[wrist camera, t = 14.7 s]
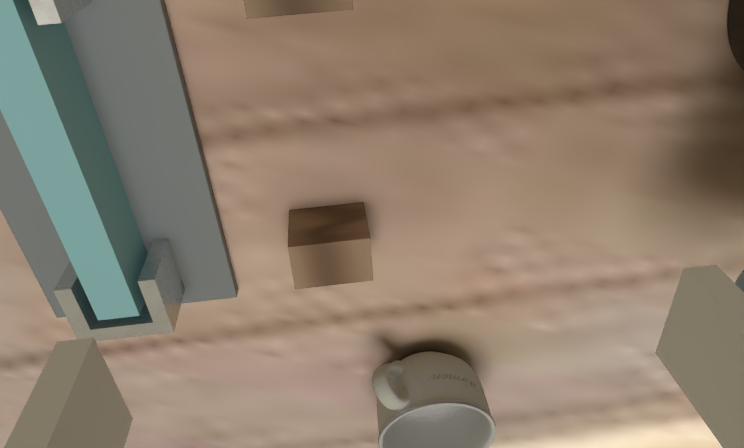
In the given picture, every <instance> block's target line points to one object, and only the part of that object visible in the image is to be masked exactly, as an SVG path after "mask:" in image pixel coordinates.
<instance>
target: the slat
mask: <svg viewBox="0 0 744 448" xmlns="http://www.w3.org/2000/svg"><path fill="white" fill-rule="evenodd" d="M0 110H1V112H2V114H3V116H4V119H5V121H6V123H7V125H8V127H9V129H10V132H11V134H12V136H13V138H14V140H15V142H16V145H17V147H18V149H19V151H20V153H21V155H22V157H23V160H24V162H25V164H26V166H27V168H28V170H29V173H30V175H31V177H32V179H33V181H34V183H35V185H36V188H37V190H38V192H39V194H40V196H41V198H42V201H43V203H44V205H45V207H46V209H47V211H48V214H49V216H50V218H51V220H52V222H53V224H54V226H55V229H56V231H57V233H58V235H59V237H60V239H61V242H62V244H63V246H64V248H65V250H66V252H67V255H68V257H69V259H70V261H71V263H72V265H73V267H74V270H75V272H76V274H77V276H78V278H79V280H80V283H81V285H82V287H83V289H84V291H85V293H86V295H87V298H88V300H89V302H90V304H91V306H92V308H93V311H94V313H95V315H96V317H97V319H98V320H107V319H116V318H124V317H133V316H140V313H141V310H142V307H143V305H144V302H145V300H144V297H143V294H142V292H141V289H140V287H139V284H138V282H137V281H138V279H139V276H140V273H141V271H142V268H143V266H144V263H145V260H146V258H147V255H148V254H147V251H146V248H145V246H144V243H143V240H142V237H141V234H140V232H139V229H138V226H137V223H136V221H135V218H134V215H133V212H132V209H131V207H130V204H129V201H128V198H127V196H126V193H125V190H124V187H123V184H122V182H121V179H120V176H119V173H118V171H117V168H116V165H115V162H114V159H113V157H112V154H111V151H110V148H109V146H108V143H107V140H106V137H105V134H104V132H103V129H102V126H101V123H100V121H99V118H98V115H97V112H96V109H95V107H94V104H93V101H92V98H91V96H90V93H89V90H88V87H87V84H86V82H85V79H84V76H83V73H82V71H81V68H80V65H79V62H78V60H77V57H76V54H75V51H74V48H73V46H72V43H71V40H70V37H69V35H68V32H67V29H66V26H65V23H64V22H62V23H57V24H45V25H38V24H37V21H36V18H35V16H34V13H33V11H32V8H31V6H30V3H29V0H0Z"/></svg>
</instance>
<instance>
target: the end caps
mask: <svg viewBox="0 0 744 448" xmlns="http://www.w3.org/2000/svg"><path fill="white" fill-rule="evenodd" d="M29 3H30V6H31V8H32V11H33V13H34V16H35V18H36V21H37V24H38V25H45V24H57V23H62V22H64V21H65V20H67V19H68V18H69V17H71V16H72V15H74V14H75V13H76V12H78V11H79V10H81V9H82V8H83V7H85V6H86V5H88V4H89V3H91V0H29ZM137 282H138V284H139V287H140V289H141V292H142V294H143V297H144V300H145V302H144V305H143V307H142V310H141V313H140V316H133V317H124V318H116V319H107V320H98V319H97V317H96V315H95V313H94V311H93V308H92V306H91V304H90V302H89V300H88V298H87V295H86V293H85V291H84V289H83V287H82V285H81V283H80V280H79V278H78V276H77V274H76V272H75V270H74V267H73V265H72V263H71V261H70V262H69V264H68V266H67V267H66V269H65V271H64V273H63V274H62V276H61V278H60V280H59V281H58V283H57V285H56V287H55V289H54V290H53V292H54V294H55V295H56V297H57V299H58V301H59V303H60V305H61V307H62V309H63V311H64V313H65V315H66V317H67V319H68V321H69V323H70V325H71V327H72V329H73V331H74V333H75V335H76V337H77V339H85V338H94V339H95V341H102V340H110V339H119V338H127V337H136V336H144V335H153V334H162V333H170V332H174V329H175V326H176V322H177V318H178V314H179V311H180V307H181V303H182V299H183V295H184V292H185V287H184V284H183V281H182V278H181V275H180V272H179V269H178V266H177V263H176V260H175V257H174V254H173V250H172V247H171V244H170V241H169V239H161V240H153V242H152V245H151V247H150V250H149V252H148V255H147V258H146V260H145V263H144V266H143V268H142V271H141V273H140V276H139V279H138V281H137Z"/></svg>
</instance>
